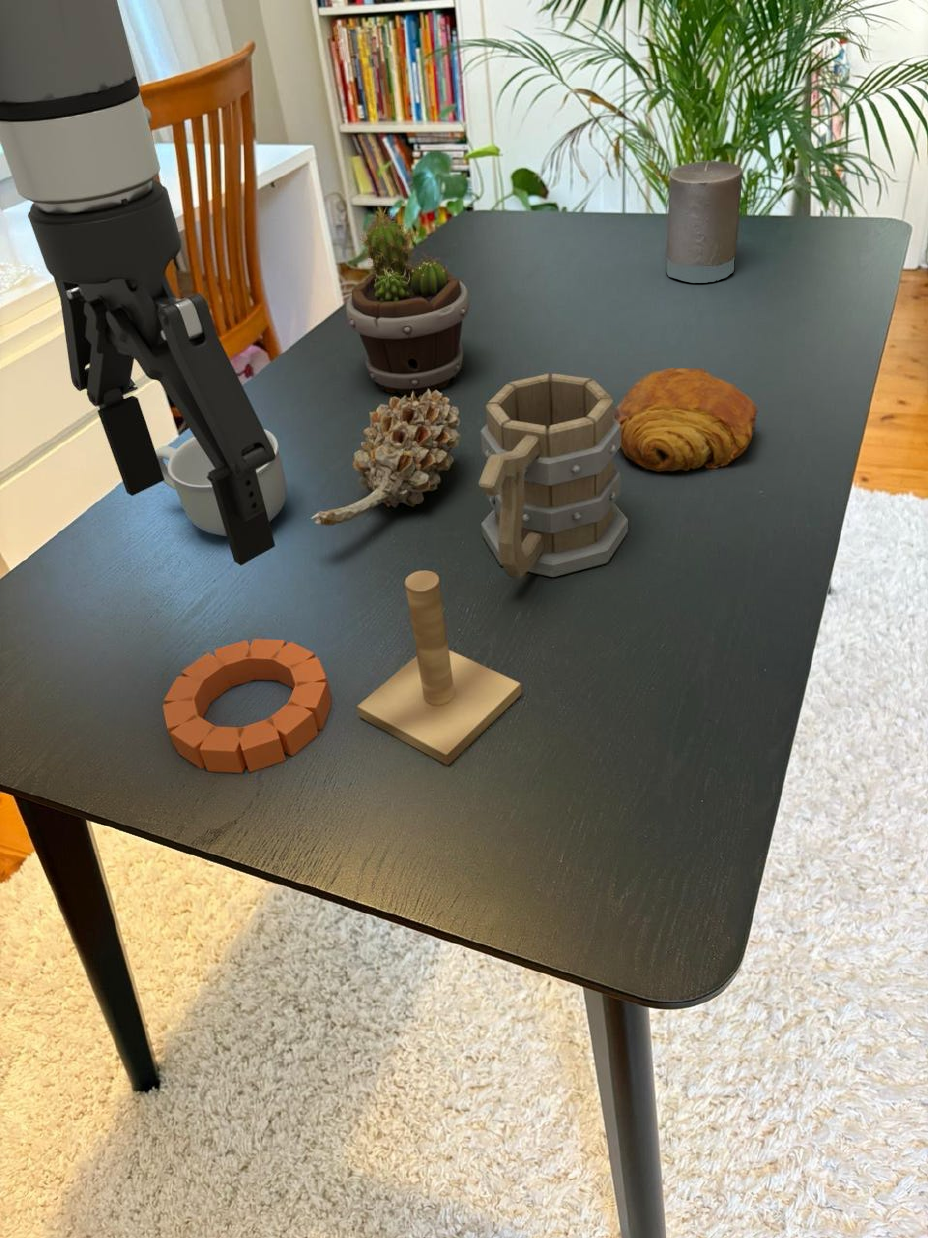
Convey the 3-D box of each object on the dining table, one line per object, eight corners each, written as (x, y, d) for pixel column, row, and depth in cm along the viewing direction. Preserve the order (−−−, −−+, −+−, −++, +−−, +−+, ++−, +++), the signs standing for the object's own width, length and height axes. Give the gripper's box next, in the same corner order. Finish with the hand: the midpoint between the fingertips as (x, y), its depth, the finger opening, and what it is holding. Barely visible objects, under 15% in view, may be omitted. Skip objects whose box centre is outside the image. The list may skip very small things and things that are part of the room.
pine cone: (403, 450, 107) (391, 365, 101) (483, 462, 104) (475, 375, 97) (296, 563, 92) (273, 472, 86) (384, 581, 89) (367, 488, 82)
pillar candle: (731, 258, 142) (740, 148, 133) (737, 283, 135) (747, 168, 126) (663, 261, 144) (667, 152, 135) (665, 286, 137) (670, 173, 127)
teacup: (315, 504, 100) (299, 435, 95) (246, 561, 93) (226, 490, 88) (214, 478, 106) (195, 411, 101) (143, 530, 99) (118, 461, 94)
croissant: (597, 483, 102) (591, 420, 96) (641, 398, 111) (638, 336, 106) (736, 502, 96) (738, 436, 91) (771, 410, 105) (774, 345, 100)
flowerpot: (498, 382, 118) (485, 211, 105) (382, 417, 114) (354, 243, 101) (448, 342, 129) (431, 182, 116) (340, 373, 124) (310, 210, 112)
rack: (359, 717, 75) (331, 592, 68) (434, 652, 80) (415, 530, 73) (448, 766, 70) (428, 638, 63) (521, 694, 76) (512, 567, 68)
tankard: (522, 489, 99) (512, 349, 89) (641, 512, 93) (645, 366, 84) (426, 605, 85) (403, 455, 76) (559, 639, 80) (552, 483, 71)
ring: (140, 728, 77) (131, 706, 75) (258, 642, 84) (252, 620, 82) (243, 798, 70) (235, 775, 68) (362, 697, 77) (357, 675, 75)
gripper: (287, 205, 47) (356, 558, 61) (53, 147, 62) (150, 442, 75) (153, 251, 44) (258, 617, 57) (-62, 178, 58) (62, 483, 72)
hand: (197, 518), depth 66 cm, fingers open, 13 cm apart
